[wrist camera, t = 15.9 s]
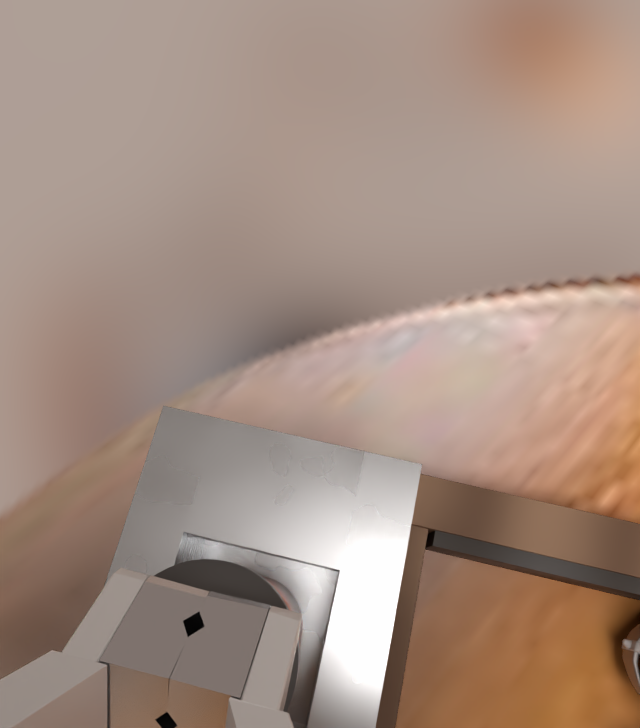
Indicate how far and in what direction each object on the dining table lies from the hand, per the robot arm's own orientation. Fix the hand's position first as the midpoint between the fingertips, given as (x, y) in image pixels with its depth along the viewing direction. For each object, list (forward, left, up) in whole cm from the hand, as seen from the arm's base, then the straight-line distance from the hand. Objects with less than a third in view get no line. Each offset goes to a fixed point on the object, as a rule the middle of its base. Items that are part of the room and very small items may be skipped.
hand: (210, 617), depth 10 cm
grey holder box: (0, -1, -17) cm, 17 cm away
